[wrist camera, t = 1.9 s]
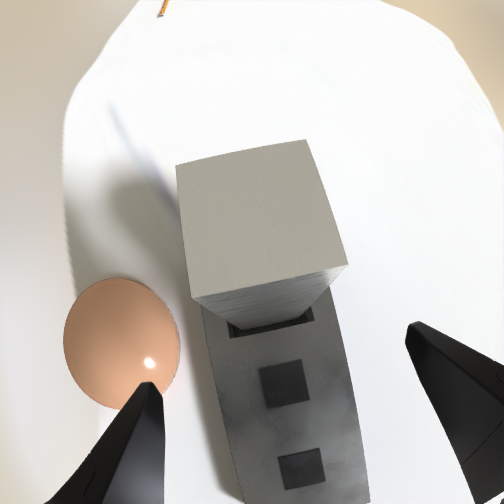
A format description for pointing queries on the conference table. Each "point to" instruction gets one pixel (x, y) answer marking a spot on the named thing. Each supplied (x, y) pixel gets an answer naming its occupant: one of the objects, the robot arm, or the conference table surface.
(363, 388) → the conference table surface
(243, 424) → the rack rail
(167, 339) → the terracotta coaster
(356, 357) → the conference table surface
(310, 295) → the steel peg
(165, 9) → the katana
